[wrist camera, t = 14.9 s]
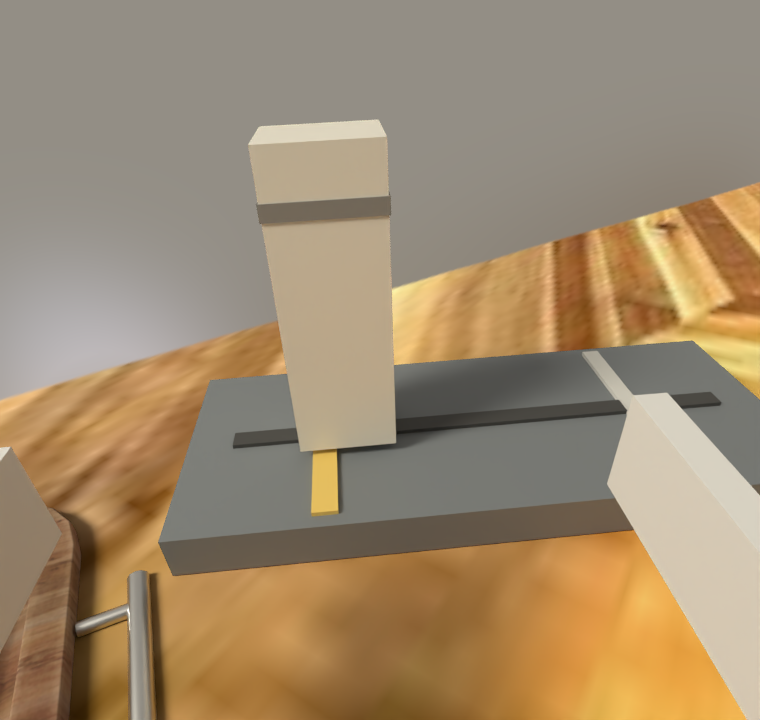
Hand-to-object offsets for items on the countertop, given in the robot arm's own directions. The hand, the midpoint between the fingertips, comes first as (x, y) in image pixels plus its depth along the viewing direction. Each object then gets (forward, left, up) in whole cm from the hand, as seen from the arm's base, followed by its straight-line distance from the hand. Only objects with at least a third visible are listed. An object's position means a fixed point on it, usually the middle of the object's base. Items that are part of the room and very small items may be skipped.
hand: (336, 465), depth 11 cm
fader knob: (0, -9, -7) cm, 11 cm away
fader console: (-6, -9, -9) cm, 14 cm away
